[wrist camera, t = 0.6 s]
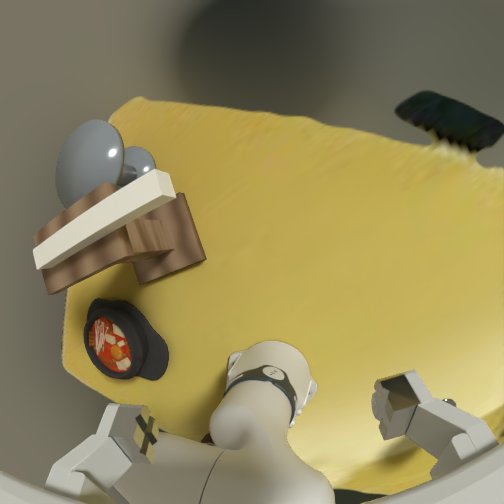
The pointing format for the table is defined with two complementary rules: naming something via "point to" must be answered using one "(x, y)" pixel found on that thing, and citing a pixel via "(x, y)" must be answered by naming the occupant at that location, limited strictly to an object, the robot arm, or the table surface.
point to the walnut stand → (127, 243)
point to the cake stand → (97, 161)
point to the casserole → (123, 341)
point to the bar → (106, 217)
